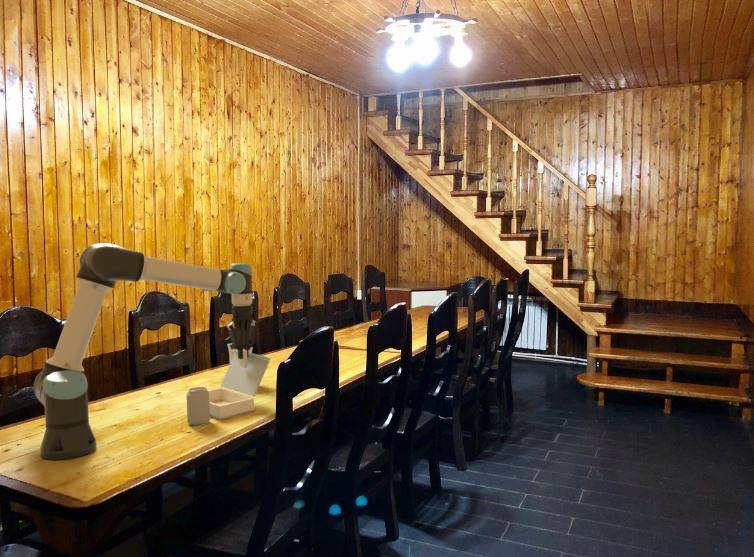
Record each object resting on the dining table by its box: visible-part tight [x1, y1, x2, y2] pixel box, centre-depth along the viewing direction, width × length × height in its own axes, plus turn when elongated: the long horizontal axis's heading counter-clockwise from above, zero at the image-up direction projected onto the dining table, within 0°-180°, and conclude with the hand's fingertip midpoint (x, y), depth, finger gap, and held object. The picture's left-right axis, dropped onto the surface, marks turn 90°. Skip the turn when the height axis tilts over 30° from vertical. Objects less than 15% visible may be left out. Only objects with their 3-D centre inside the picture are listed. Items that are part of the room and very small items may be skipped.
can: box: [186, 386, 211, 427], centre depth 216 cm, size 8×8×12 cm
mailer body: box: [207, 387, 255, 421], centre depth 231 cm, size 14×22×5 cm, turn 45°
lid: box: [220, 349, 271, 398], centre depth 237 cm, size 15×22×2 cm
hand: (243, 366), depth 237 cm, fingers closed
